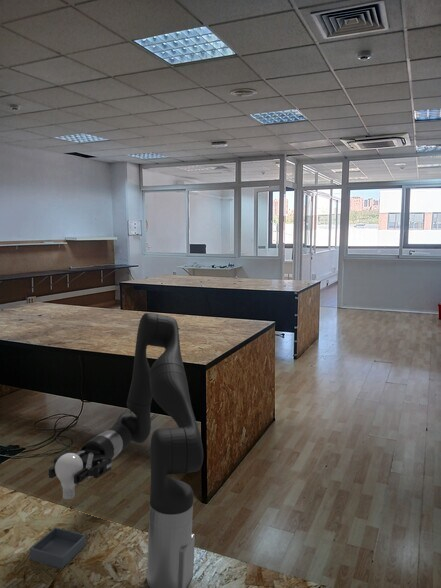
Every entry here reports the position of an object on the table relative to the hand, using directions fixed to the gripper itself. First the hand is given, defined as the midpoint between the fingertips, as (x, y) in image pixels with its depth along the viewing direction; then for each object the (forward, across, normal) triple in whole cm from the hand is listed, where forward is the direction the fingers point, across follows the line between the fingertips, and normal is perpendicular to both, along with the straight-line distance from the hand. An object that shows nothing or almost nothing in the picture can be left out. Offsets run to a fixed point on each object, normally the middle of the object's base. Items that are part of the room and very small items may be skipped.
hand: (62, 477), depth 103 cm
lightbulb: (-2, 0, +7) cm, 7 cm away
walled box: (+1, 0, +18) cm, 18 cm away
